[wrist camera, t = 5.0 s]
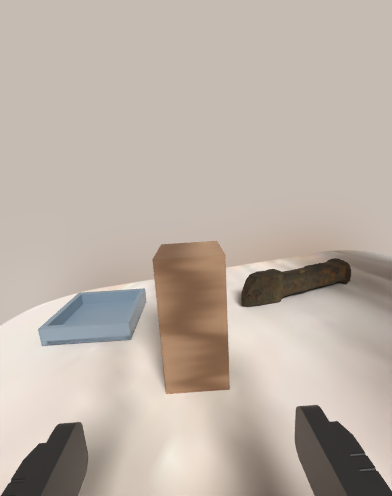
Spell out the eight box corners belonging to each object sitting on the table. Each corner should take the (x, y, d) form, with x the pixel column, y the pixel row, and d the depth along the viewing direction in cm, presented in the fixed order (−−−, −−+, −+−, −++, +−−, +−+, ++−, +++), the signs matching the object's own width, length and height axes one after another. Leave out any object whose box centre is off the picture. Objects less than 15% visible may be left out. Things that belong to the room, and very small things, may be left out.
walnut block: (221, 349, 24) (217, 241, 21) (229, 389, 19) (225, 254, 16) (171, 352, 24) (161, 244, 21) (166, 393, 19) (152, 259, 16)
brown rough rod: (329, 278, 41) (330, 252, 40) (351, 285, 37) (353, 257, 36) (232, 301, 35) (231, 271, 34) (247, 313, 31) (247, 279, 30)
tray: (146, 301, 36) (144, 288, 35) (130, 339, 26) (128, 323, 26) (81, 305, 35) (79, 292, 35) (41, 345, 26) (38, 329, 26)
